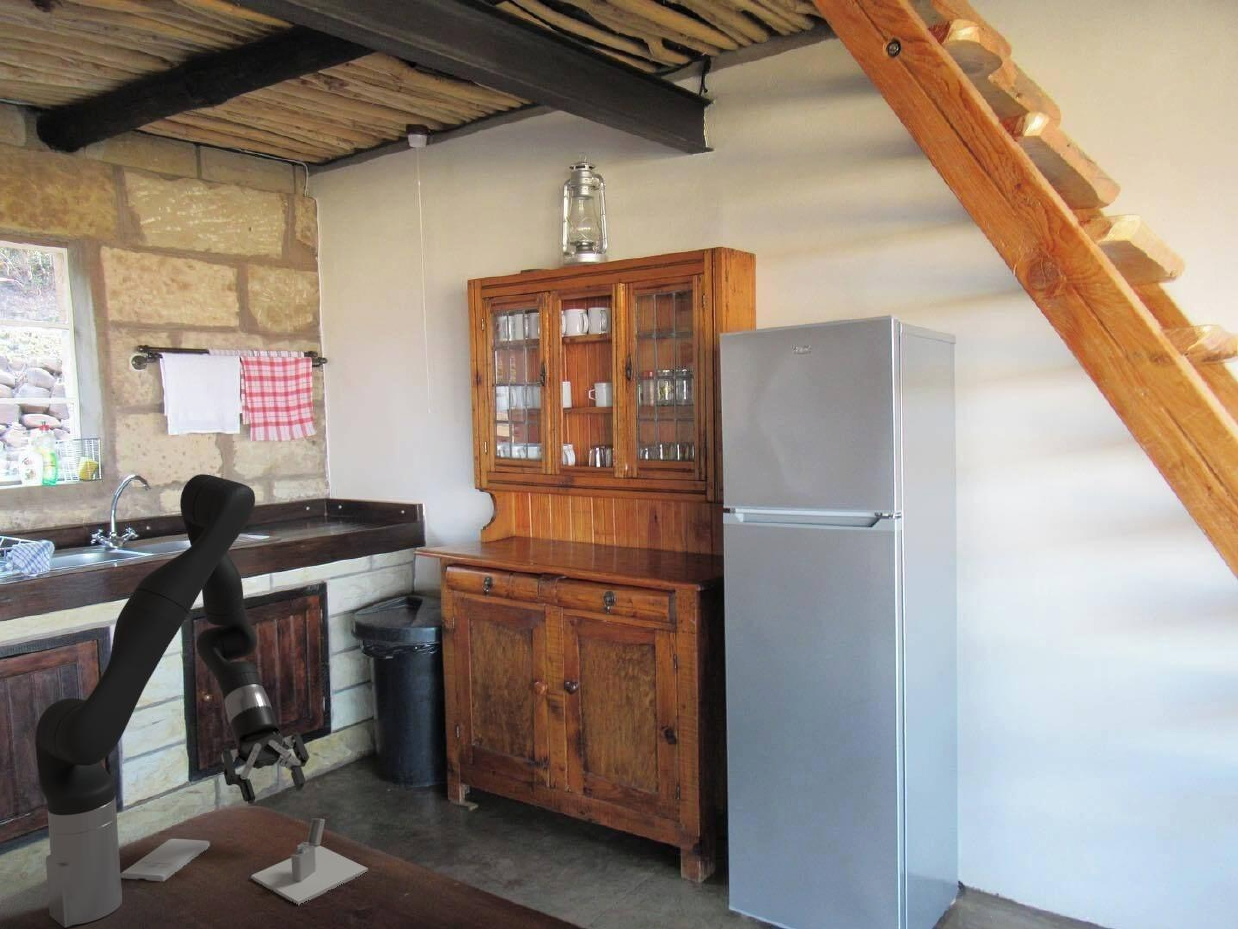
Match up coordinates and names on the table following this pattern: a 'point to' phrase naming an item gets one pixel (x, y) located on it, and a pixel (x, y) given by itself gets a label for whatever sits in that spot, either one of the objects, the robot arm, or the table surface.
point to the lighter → (307, 852)
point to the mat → (326, 876)
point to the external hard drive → (166, 860)
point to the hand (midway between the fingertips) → (276, 795)
